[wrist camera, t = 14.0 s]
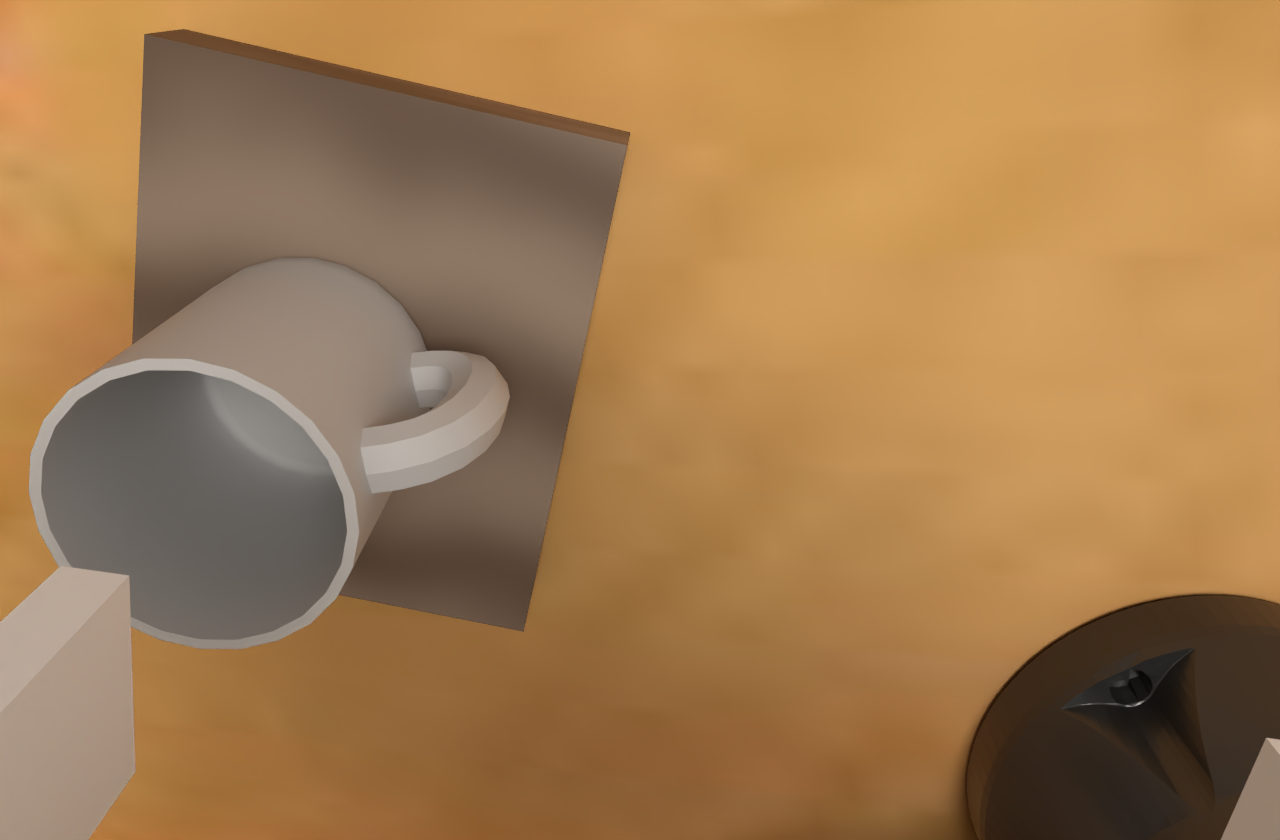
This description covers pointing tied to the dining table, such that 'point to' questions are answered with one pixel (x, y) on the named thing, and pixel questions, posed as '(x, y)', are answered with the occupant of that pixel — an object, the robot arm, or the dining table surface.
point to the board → (394, 266)
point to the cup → (254, 450)
